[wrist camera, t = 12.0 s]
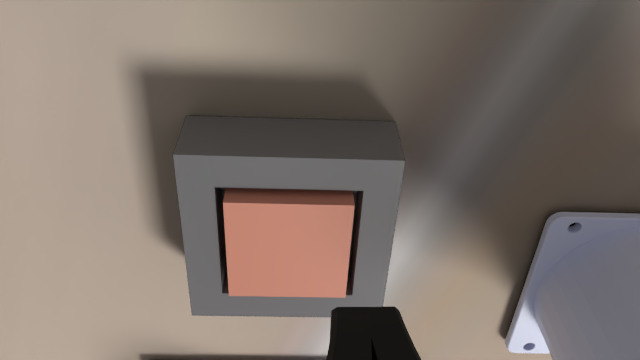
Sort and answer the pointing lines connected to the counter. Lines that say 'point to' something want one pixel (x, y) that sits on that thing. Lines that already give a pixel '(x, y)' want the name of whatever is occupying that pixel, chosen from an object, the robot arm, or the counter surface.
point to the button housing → (286, 173)
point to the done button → (288, 241)
